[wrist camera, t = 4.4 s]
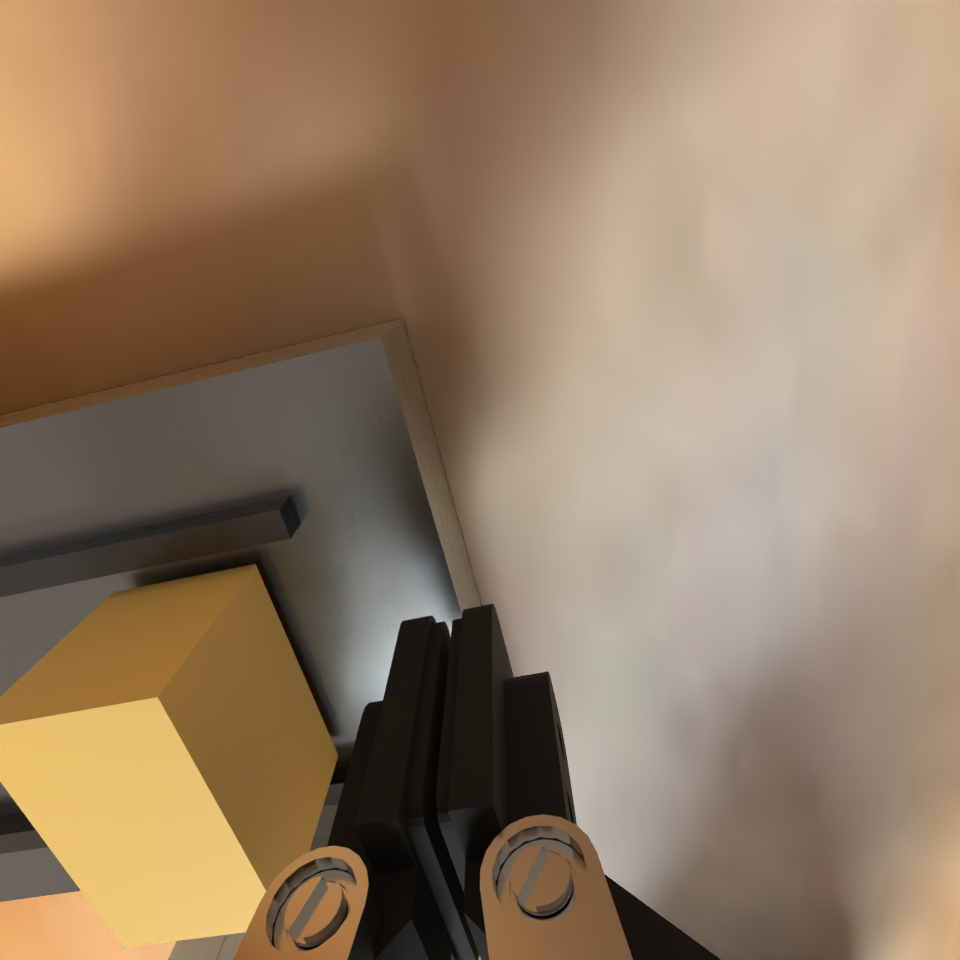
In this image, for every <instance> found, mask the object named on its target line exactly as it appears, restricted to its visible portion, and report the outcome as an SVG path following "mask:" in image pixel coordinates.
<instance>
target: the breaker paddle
mask: <svg viewBox="0 0 960 960" xmlns="http://www.w3.org/2000/svg"><path fill="white" fill-rule="evenodd" d="M337 759H338V753H337V751H336V749H335V747H334V744H333V742H332V740H331V737H330V735H329V733H328V730H327V728H326V726H325V723H324V721H323V719H322V716H321V714H320V712H319V710H318V707H317V705H316V703H315V700H314V698H313V696H312V693H311V691H310V689H309V686H308V684H307V682H306V679H305V677H304V675H303V673H302V670H301V668H300V666H299V663H298V661H297V659H296V656H295V654H294V652H293V649H292V647H291V645H290V642H289V640H288V638H287V636H286V633H285V631H284V629H283V626H282V624H281V622H280V619H279V617H278V615H277V612H276V610H275V608H274V605H273V603H272V601H271V599H270V596H269V594H268V592H267V589H266V587H265V585H264V582H263V580H262V578H261V575H260V573H259V571H258V568H257V566H256V564H253V565H248V566H243V567H238V568H233V569H228V570H223V571H218V572H213V573H208V574H203V575H198V576H192V577H187V578H182V579H177V580H172V581H167V582H162V583H157V584H152V585H147V586H142V587H137V588H132V589H127V590H122V591H117V592H113V593H112V594H110V595H109V596H108V597H107V598H106V599H105V600H104V601H103V602H102V603H101V604H100V605H99V606H98V607H96V608H95V609H94V610H93V611H92V612H91V613H90V614H89V615H88V616H87V617H86V618H85V619H84V620H82V621H81V622H80V623H79V624H78V625H77V626H76V627H75V628H74V629H73V630H72V631H71V632H69V633H68V634H67V635H66V636H65V637H64V638H63V639H62V640H61V641H60V642H59V643H58V644H57V645H55V646H54V647H53V648H52V649H51V650H50V651H49V652H48V653H47V654H46V655H45V656H44V657H43V658H41V659H40V660H39V661H38V662H37V663H36V664H35V665H34V666H33V667H32V668H31V669H30V670H29V671H27V672H26V673H25V674H24V675H23V676H22V677H21V678H20V679H19V680H18V681H17V682H16V683H14V684H13V685H12V686H11V687H10V688H9V689H8V690H7V691H6V692H5V693H4V694H3V695H2V696H0V782H1V783H2V785H3V786H4V787H5V789H6V790H7V791H8V793H9V794H10V795H11V797H12V798H13V800H14V801H15V802H16V804H17V805H18V806H19V808H20V809H21V810H22V812H23V813H24V814H25V816H26V817H27V818H28V820H29V821H30V823H31V824H32V825H33V827H34V828H35V829H36V831H37V832H38V833H39V835H40V836H41V837H42V839H43V840H44V841H45V843H46V844H47V846H48V847H49V848H50V850H51V851H52V852H53V854H54V855H55V856H56V858H57V859H58V860H59V862H60V863H61V864H62V866H63V867H64V869H65V870H66V871H67V873H68V874H69V875H70V877H71V878H72V879H73V881H74V882H75V883H76V885H77V886H78V887H79V889H80V890H81V892H82V893H83V894H84V896H85V897H86V898H87V900H88V901H89V902H90V904H91V905H92V906H93V908H94V909H95V911H96V912H97V913H98V915H99V916H100V917H101V919H102V920H103V921H104V923H105V924H106V925H107V927H108V928H109V929H110V931H111V932H112V934H113V935H114V936H115V938H116V939H117V940H118V942H119V943H120V944H121V946H122V947H123V948H124V947H132V946H140V945H148V944H156V943H164V942H172V941H180V940H188V939H196V938H204V937H212V936H220V935H228V934H236V933H244V932H246V931H247V929H248V926H249V924H250V922H251V920H252V918H253V916H254V914H255V912H256V909H257V907H258V905H259V903H260V901H261V899H262V898H263V896H264V894H265V893H266V891H267V889H268V888H269V886H270V884H271V883H272V882H273V881H274V879H275V878H276V877H277V876H278V875H279V874H280V873H281V872H282V871H283V870H284V868H285V867H287V866H288V865H289V864H291V863H292V862H293V861H295V860H296V859H297V858H299V857H300V856H302V855H304V854H306V853H308V852H309V851H310V848H311V844H312V841H313V838H314V835H315V831H316V828H317V825H318V821H319V818H320V815H321V812H322V808H323V805H324V802H325V798H326V795H327V792H328V788H329V785H330V782H331V779H332V775H333V772H334V769H335V765H336V762H337Z"/></svg>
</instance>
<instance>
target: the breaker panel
mask: <svg viewBox="0 0 960 960" xmlns="http://www.w3.org/2000/svg"><path fill="white" fill-rule="evenodd" d="M253 564H256V566H257V568H258V571H259V573H260V575H261V578H262V580H263V582H264V585H265V587H266V589H267V592H268V594H269V596H270V599H271V601H272V603H273V605H274V608H275V610H276V612H277V615H278V617H279V619H280V622H281V624H282V626H283V629H284V631H285V633H286V636H287V638H288V640H289V642H290V645H291V647H292V649H293V652H294V654H295V656H296V659H297V661H298V663H299V666H300V668H301V670H302V673H303V675H304V677H305V679H306V682H307V684H308V686H309V689H310V691H311V693H312V696H313V698H314V700H315V703H316V705H317V707H318V710H319V712H320V714H321V716H322V719H323V721H324V723H325V726H326V728H327V730H328V733H329V735H330V737H331V740H332V742H333V744H334V747H335V749H336V751H337V753H338V759H337V762H336V765H335V769H334V772H333V775H332V779H331V782H330V785H329V788H328V792H327V795H326V798H325V802H324V805H323V808H322V812H321V815H320V818H319V821H318V825H317V828H316V831H315V835H314V838H313V841H312V844H311V848H310V851H313V850H315V849H317V848H322V847H327V844H328V841H329V837H330V833H331V829H332V826H333V822H334V818H335V814H336V811H337V807H338V803H339V799H340V796H341V792H342V788H343V785H344V781H345V777H346V773H347V770H348V766H349V762H350V758H351V755H352V751H353V747H354V743H355V740H356V736H357V732H358V728H359V725H360V721H361V717H362V714H363V711H364V708H365V706H366V705H367V704H368V703H371V702H376V701H382V700H383V698H384V693H385V689H386V685H387V680H388V676H389V672H390V667H391V663H392V659H393V654H394V650H395V646H396V641H397V637H398V633H399V628H400V625H401V622H402V621H404V620H410V619H415V618H420V617H426V616H431V615H432V616H433V617H434V618H435V620H436V623H438V622H443V621H445V622H446V624H447V626H448V629H449V632H450V636H451V631H452V622H453V620H454V619H459V618H462V612H463V610H464V609H468V608H474V607H479V606H482V605H481V601H480V597H479V594H478V590H477V586H476V583H475V579H474V576H473V572H472V568H471V565H470V561H469V557H468V554H467V550H466V546H465V543H464V539H463V535H462V532H461V528H460V524H459V521H458V517H457V514H456V510H455V506H454V503H453V499H452V495H451V492H450V488H449V484H448V481H447V477H446V473H445V470H444V466H443V463H442V459H441V455H440V452H439V448H438V444H437V441H436V437H435V433H434V430H433V426H432V422H431V419H430V415H429V411H428V408H427V404H426V401H425V397H424V393H423V390H422V386H421V382H420V379H419V375H418V371H417V368H416V364H415V360H414V357H413V353H412V349H411V346H410V342H409V339H408V335H407V331H406V328H405V324H404V320H403V318H402V319H398V320H394V321H389V322H385V323H381V324H377V325H373V326H369V327H365V328H360V329H356V330H352V331H348V332H344V333H340V334H335V335H331V336H327V337H323V338H319V339H315V340H310V341H306V342H302V343H298V344H294V345H290V346H285V347H281V348H277V349H273V350H269V351H265V352H260V353H256V354H252V355H248V356H244V357H240V358H236V359H231V360H227V361H223V362H219V363H215V364H211V365H206V366H202V367H198V368H194V369H190V370H186V371H181V372H177V373H173V374H169V375H165V376H161V377H156V378H152V379H148V380H144V381H140V382H136V383H131V384H127V385H123V386H119V387H115V388H111V389H107V390H102V391H98V392H94V393H90V394H86V395H82V396H77V397H73V398H69V399H65V400H61V401H57V402H52V403H48V404H44V405H40V406H36V407H32V408H27V409H23V410H19V411H15V412H11V413H7V414H3V415H0V696H2V695H3V694H4V693H5V692H6V691H7V690H8V689H9V688H10V687H11V686H12V685H13V684H14V683H16V682H17V681H18V680H19V679H20V678H21V677H22V676H23V675H24V674H25V673H26V672H27V671H29V670H30V669H31V668H32V667H33V666H34V665H35V664H36V663H37V662H38V661H39V660H40V659H41V658H43V657H44V656H45V655H46V654H47V653H48V652H49V651H50V650H51V649H52V648H53V647H54V646H55V645H57V644H58V643H59V642H60V641H61V640H62V639H63V638H64V637H65V636H66V635H67V634H68V633H69V632H71V631H72V630H73V629H74V628H75V627H76V626H77V625H78V624H79V623H80V622H81V621H82V620H84V619H85V618H86V617H87V616H88V615H89V614H90V613H91V612H92V611H93V610H94V609H95V608H96V607H98V606H99V605H100V604H101V603H102V602H103V601H104V600H105V599H106V598H107V597H108V596H109V595H110V594H112V593H113V592H117V591H122V590H127V589H132V588H137V587H142V586H147V585H152V584H157V583H162V582H167V581H172V580H177V579H182V578H187V577H192V576H198V575H203V574H208V573H213V572H218V571H223V570H228V569H233V568H238V567H243V566H248V565H253ZM310 851H309V852H310ZM75 891H81V890H80V889H79V887H78V886H77V885H76V883H75V882H74V881H73V879H72V878H71V877H70V875H69V874H68V873H67V871H66V870H65V869H64V867H63V866H62V864H61V863H60V862H59V860H58V859H57V858H56V856H55V855H54V854H53V852H52V851H51V850H50V848H49V847H48V846H47V844H46V843H45V841H44V840H43V839H42V837H41V836H40V835H39V833H38V832H37V831H36V829H35V828H34V827H33V825H32V824H31V823H30V821H29V820H28V818H27V817H26V816H25V814H24V813H23V812H22V810H21V809H20V808H19V806H18V805H17V804H16V802H15V801H14V800H13V798H12V797H11V795H10V794H9V793H8V791H7V790H6V789H5V787H4V786H3V785H2V783H1V782H0V902H2V901H9V900H17V899H24V898H31V897H38V896H46V895H53V894H60V893H67V892H75Z"/></svg>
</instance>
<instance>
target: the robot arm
mask: <svg viewBox="0 0 960 960" xmlns="http://www.w3.org/2000/svg"><path fill="white" fill-rule="evenodd" d="M479 955H480V958H481V960H720V959H719V958H718V957H716V956H715V955H714V954H712V953H711V952H709V951H708V950H707V949H705V948H704V947H703V946H701V945H700V944H699V943H697V942H696V941H695V940H693V939H692V938H690V937H689V936H688V935H686V934H685V933H684V932H682V931H681V930H680V929H678V928H677V927H675V926H674V925H673V924H671V923H670V922H669V921H667V920H666V919H665V918H663V917H662V916H660V915H659V914H658V913H656V912H655V911H654V910H652V909H651V908H650V907H648V906H647V905H646V904H644V903H643V902H641V901H640V900H639V899H637V898H636V897H635V896H633V895H632V894H631V893H629V892H628V891H626V890H625V889H624V888H622V887H621V886H620V885H618V884H617V883H616V882H614V881H613V880H612V879H610V878H609V877H607V876H606V875H605V874H604V872H603V869H602V866H601V863H600V860H599V857H598V854H597V852H596V850H595V848H594V846H593V844H592V842H591V840H590V839H589V837H588V836H587V835H586V834H585V833H584V832H583V831H582V830H581V829H580V828H579V827H578V826H577V823H576V816H575V810H574V803H573V796H572V789H571V783H570V776H569V769H568V762H567V756H566V750H565V744H564V738H563V733H562V727H561V722H560V717H559V713H558V708H557V704H556V699H555V695H554V691H553V687H552V682H551V678H550V675H549V672H543V673H537V674H532V675H526V676H520V677H513V673H512V669H511V665H510V662H509V658H508V654H507V650H506V646H505V643H504V639H503V635H502V631H501V627H500V624H499V620H498V616H497V613H496V609H495V607H494V605H493V604H490V605H484V606H479V607H474V608H468V609H464V610H463V612H462V618H459V619H454V620H453V622H452V631H451V636H450V632H449V629H448V626H447V624H446V622H445V621H443V622H438V623H436V620H435V618H434V617H433V616H432V615H431V616H426V617H420V618H415V619H410V620H404V621H402V622H401V625H400V628H399V633H398V637H397V641H396V646H395V650H394V654H393V659H392V663H391V667H390V672H389V676H388V680H387V685H386V689H385V693H384V698H383V700H382V701H376V702H371V703H368V704H367V705H366V706H365V708H364V711H363V714H362V717H361V721H360V725H359V728H358V732H357V736H356V740H355V743H354V747H353V751H352V755H351V758H350V762H349V766H348V770H347V773H346V777H345V781H344V785H343V788H342V792H341V796H340V799H339V803H338V807H337V811H336V814H335V818H334V822H333V826H332V829H331V833H330V837H329V841H328V844H327V847H322V848H317V849H315V850H313V851H310V852H308V853H306V854H304V855H302V856H300V857H299V858H297V859H296V860H295V861H293V862H292V863H291V864H289V865H288V866H287V867H285V868H284V870H283V871H282V872H281V873H280V874H279V875H278V876H277V877H276V878H275V879H274V881H273V882H272V883H271V884H270V886H269V888H268V889H267V891H266V893H265V894H264V896H263V898H262V899H261V901H260V903H259V905H258V907H257V909H256V912H255V914H254V916H253V918H252V920H251V922H250V924H249V926H248V929H247V931H246V933H245V935H244V937H243V939H242V941H241V943H240V945H239V948H238V950H237V952H236V954H235V956H234V958H233V960H478V959H479Z"/></svg>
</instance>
